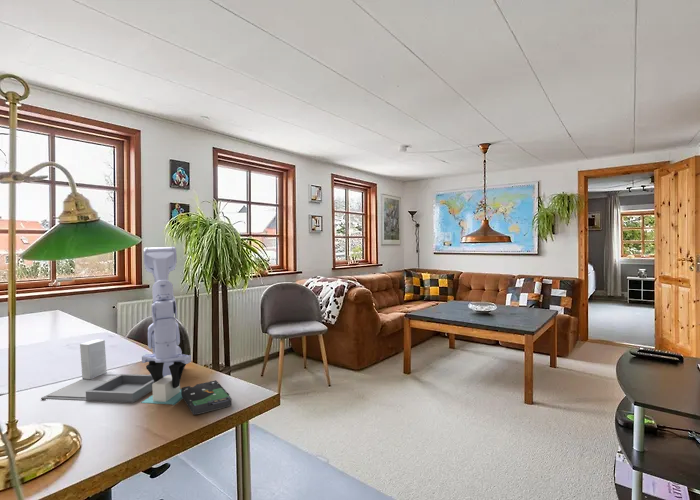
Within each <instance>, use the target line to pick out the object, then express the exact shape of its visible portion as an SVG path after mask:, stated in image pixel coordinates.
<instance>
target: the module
mask: <svg viewBox="0 0 700 500" xmlns="http://www.w3.org/2000/svg"><path fill="white" fill-rule="evenodd" d="M180 389H181V383H180V384H179V386H178V387H177V388H173V386H172V375H167V376H165V377H163V378H162V379H160V380H158V381H157V382H155V383H153V384H152V395H153V401H158V402H166V401H168V400H169V399H171V398H172V397H173V396H175V395H176V394H178V393H179V392H180Z"/></svg>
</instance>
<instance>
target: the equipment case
mask: <svg viewBox="0 0 700 500" xmlns="http://www.w3.org/2000/svg"><path fill="white" fill-rule="evenodd" d="M153 383H154V380H153V378H152V376H151V375H150V374H137V373H135V374H132V373H120V374H118V375H116V376H114V377H112V378H111V379H109V380H98V379H97V380H96V379H95V380H94V379H80V380H77V381H75V382H73V383H70V384H68V385H66V386H63V387H62V388H59V389H57V390H55V391H52V392H51V393H48V394H47V395H44V396H42V397H40V400H41V399H47V400H63V401H64V400H65V401H66V400H67V401H86V402H87V401H89V402H106V403H107V402H112V403H129V404H130V403H135V402H137V401H138V400H140V399H141V398H143V397H144V396H146V395H148V394H149V393H151V392H153V390H152V384H153Z"/></svg>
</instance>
